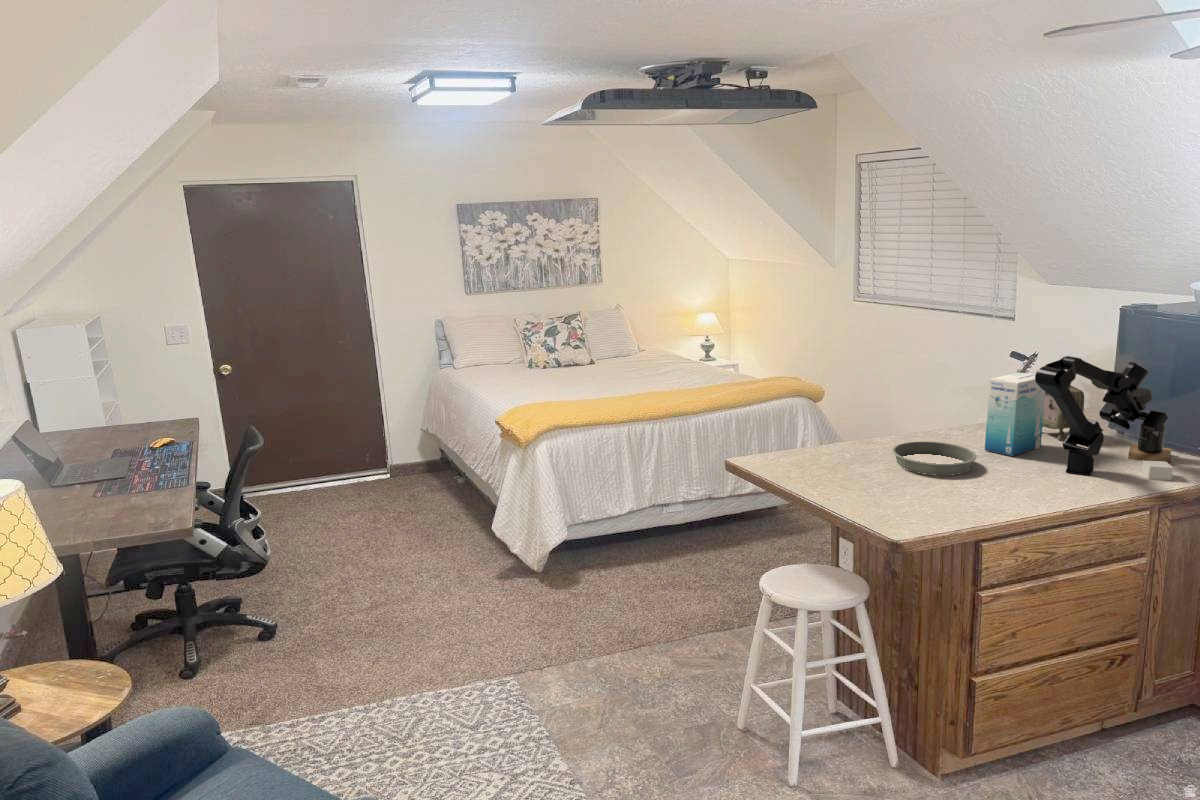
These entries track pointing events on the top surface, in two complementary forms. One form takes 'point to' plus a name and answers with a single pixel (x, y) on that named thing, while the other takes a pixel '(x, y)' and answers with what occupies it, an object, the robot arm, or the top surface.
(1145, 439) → the supplement bottle
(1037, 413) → the toothbrush box
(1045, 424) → the tabletop clock
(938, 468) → the cake pan
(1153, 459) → the tan slab
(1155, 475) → the grey block
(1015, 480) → the top surface
